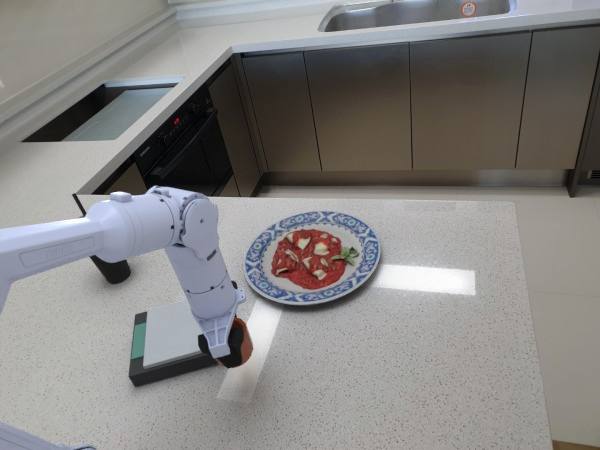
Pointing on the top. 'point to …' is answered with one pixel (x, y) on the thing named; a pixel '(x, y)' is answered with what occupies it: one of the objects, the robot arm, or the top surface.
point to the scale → (166, 344)
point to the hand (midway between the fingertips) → (232, 346)
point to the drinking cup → (109, 270)
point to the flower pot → (247, 343)
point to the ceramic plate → (311, 258)
